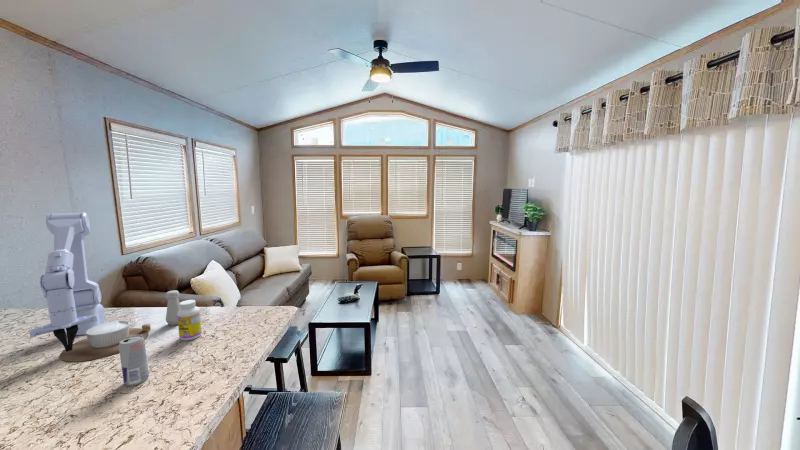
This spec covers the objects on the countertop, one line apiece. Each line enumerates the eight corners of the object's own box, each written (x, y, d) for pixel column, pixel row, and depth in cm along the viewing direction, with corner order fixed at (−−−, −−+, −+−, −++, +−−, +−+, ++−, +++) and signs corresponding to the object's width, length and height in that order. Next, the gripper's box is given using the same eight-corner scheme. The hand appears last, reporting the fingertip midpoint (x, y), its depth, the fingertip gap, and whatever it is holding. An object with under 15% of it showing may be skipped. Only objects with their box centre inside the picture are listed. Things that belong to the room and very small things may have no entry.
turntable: (94, 331, 117) (93, 325, 117) (161, 326, 121) (160, 320, 121) (38, 365, 96) (37, 358, 96) (121, 357, 100) (120, 350, 99)
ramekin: (139, 336, 112) (137, 322, 112) (101, 352, 102) (99, 337, 101) (118, 332, 116) (116, 318, 115) (79, 347, 106) (77, 331, 105)
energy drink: (133, 375, 90) (128, 335, 89) (153, 374, 91) (148, 334, 89) (118, 387, 85) (112, 344, 84) (140, 385, 86) (134, 343, 84)
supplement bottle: (175, 339, 111) (171, 304, 109) (193, 331, 117) (190, 297, 115) (188, 342, 109) (184, 306, 107) (206, 334, 115) (203, 299, 113)
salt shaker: (175, 327, 120) (171, 294, 119) (162, 326, 121) (158, 293, 120) (188, 320, 126) (184, 289, 124) (176, 319, 127) (172, 288, 125)
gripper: (27, 320, 91) (35, 364, 93) (96, 304, 103) (102, 344, 104) (26, 314, 96) (33, 356, 98) (92, 300, 107) (98, 338, 109)
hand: (68, 350), depth 101 cm, fingers closed
